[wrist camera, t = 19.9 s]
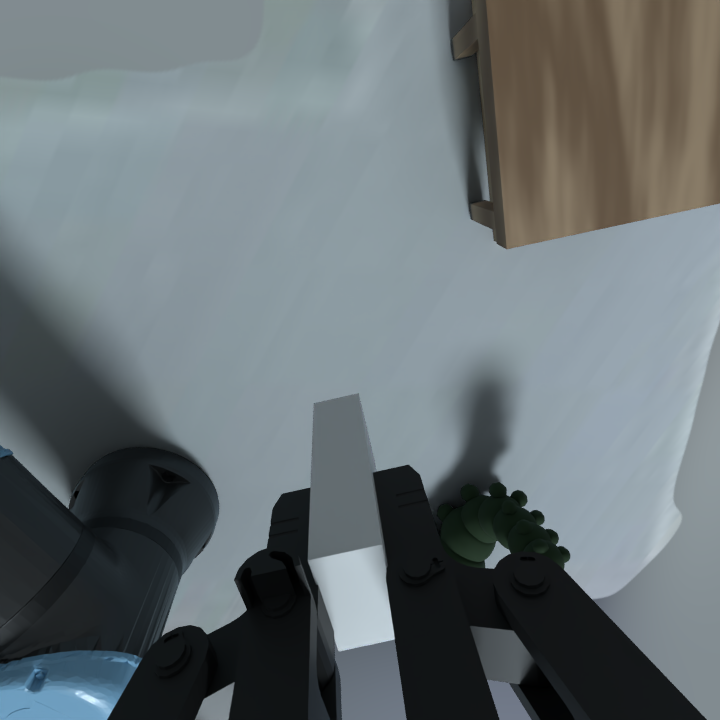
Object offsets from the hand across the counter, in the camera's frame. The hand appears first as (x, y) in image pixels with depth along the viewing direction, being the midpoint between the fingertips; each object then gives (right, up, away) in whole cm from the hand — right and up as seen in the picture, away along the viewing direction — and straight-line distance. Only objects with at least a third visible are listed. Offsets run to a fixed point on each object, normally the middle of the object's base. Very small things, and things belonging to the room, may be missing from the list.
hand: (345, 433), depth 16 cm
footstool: (+9, +20, +20) cm, 29 cm away
